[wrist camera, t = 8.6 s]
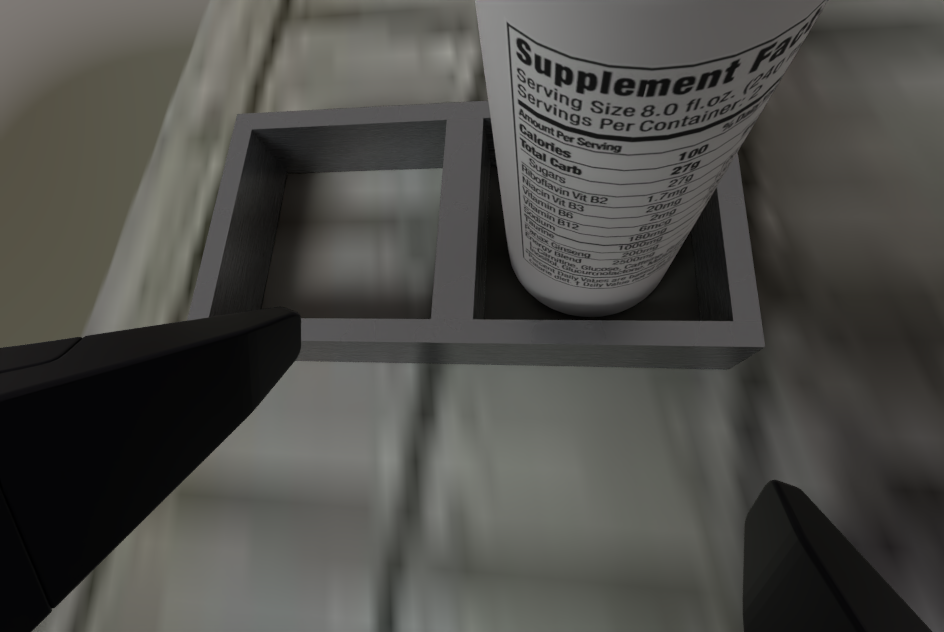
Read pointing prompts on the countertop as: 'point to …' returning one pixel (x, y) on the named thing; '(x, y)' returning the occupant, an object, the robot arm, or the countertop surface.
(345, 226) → the countertop surface
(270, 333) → the robot arm
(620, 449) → the countertop surface
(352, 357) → the divided frame
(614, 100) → the energy drink can
